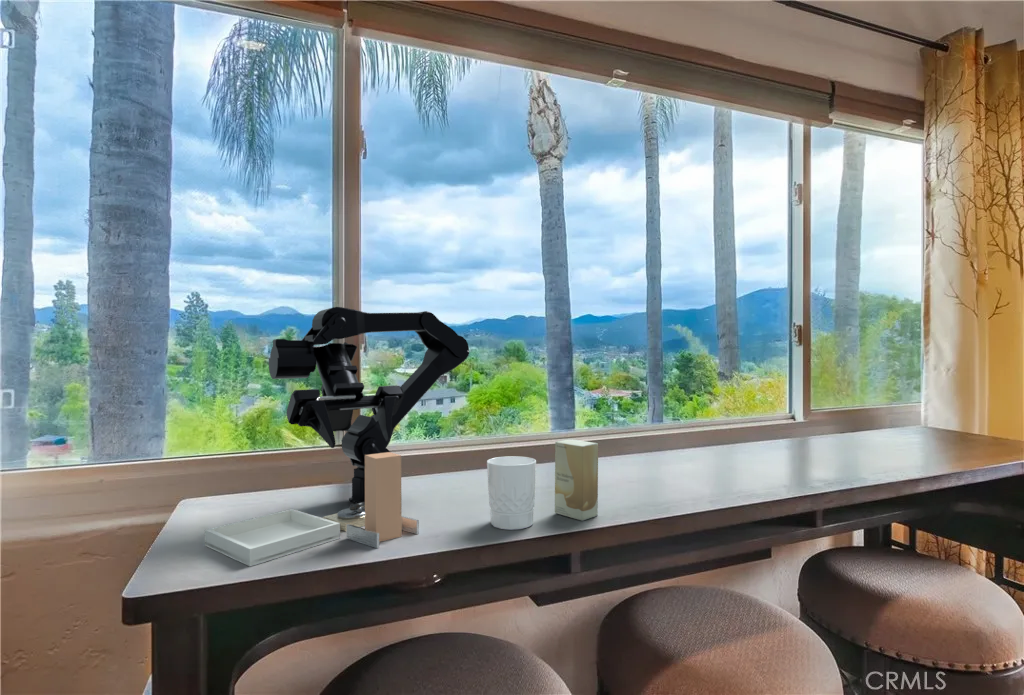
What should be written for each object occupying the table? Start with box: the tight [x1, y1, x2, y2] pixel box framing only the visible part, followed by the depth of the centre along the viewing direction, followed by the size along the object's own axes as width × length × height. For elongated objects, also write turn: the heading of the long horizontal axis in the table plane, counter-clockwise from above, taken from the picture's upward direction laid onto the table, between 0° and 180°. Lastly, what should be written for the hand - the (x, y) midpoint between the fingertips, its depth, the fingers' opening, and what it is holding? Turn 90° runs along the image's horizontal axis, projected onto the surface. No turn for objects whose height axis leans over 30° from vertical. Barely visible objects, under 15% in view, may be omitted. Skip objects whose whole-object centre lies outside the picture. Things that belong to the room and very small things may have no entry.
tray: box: [204, 508, 341, 567], centre depth 76 cm, size 13×13×2 cm
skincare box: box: [554, 438, 599, 522], centre depth 88 cm, size 6×4×12 cm
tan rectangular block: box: [364, 451, 403, 543], centre depth 78 cm, size 4×4×12 cm
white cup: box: [486, 455, 537, 531], centre depth 83 cm, size 8×8×10 cm
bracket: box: [322, 501, 420, 549], centre depth 81 cm, size 9×16×3 cm, turn 53°
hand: (362, 443), depth 84 cm, fingers open, 9 cm apart
